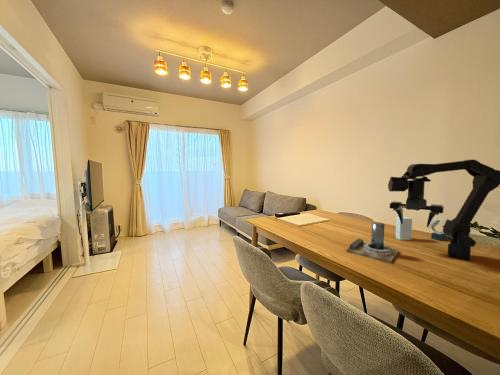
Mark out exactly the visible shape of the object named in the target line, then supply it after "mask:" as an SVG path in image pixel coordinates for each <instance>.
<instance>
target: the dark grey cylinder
mask: <svg viewBox="0 0 500 375" xmlns="http://www.w3.org/2000/svg"><path fill="white" fill-rule="evenodd" d="M385 227H386V226H385V223H383V222H377V221H376V222H375V221H373V222H371V240H370V243H371V248H373V249H377V250H384V245H385Z"/></svg>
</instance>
